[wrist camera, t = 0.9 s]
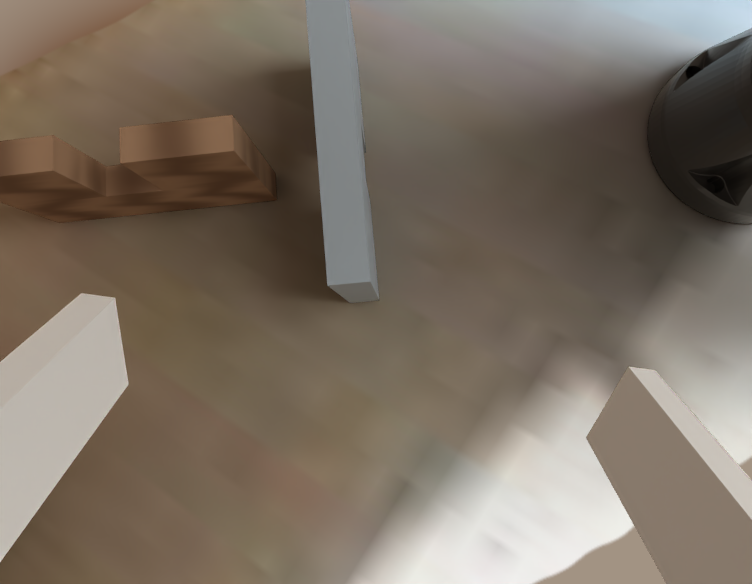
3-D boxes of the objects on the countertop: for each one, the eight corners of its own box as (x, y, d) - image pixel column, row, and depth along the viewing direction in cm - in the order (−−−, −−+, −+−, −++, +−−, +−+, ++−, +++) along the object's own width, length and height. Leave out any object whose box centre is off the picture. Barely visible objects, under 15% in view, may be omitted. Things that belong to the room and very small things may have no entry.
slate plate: (357, 61, 39) (340, -61, 27) (379, 300, 36) (370, 281, 25) (330, 64, 39) (301, -56, 27) (350, 303, 37) (327, 285, 25)
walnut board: (275, 173, 38) (232, 115, 28) (277, 200, 38) (234, 150, 28) (59, 196, 39) (-56, 147, 29) (59, 222, 39) (-58, 182, 29)
